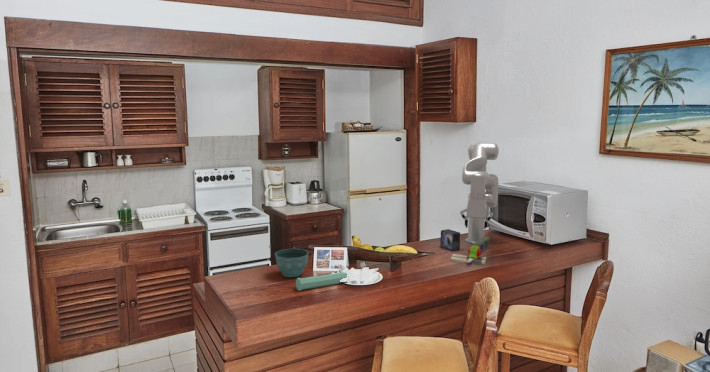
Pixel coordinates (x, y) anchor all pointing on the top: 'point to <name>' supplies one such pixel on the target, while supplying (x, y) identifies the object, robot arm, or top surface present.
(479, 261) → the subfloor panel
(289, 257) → the flower pot
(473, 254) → the toy measuring tape
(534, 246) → the top surface
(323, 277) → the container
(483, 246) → the handheld radio
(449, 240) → the small box
